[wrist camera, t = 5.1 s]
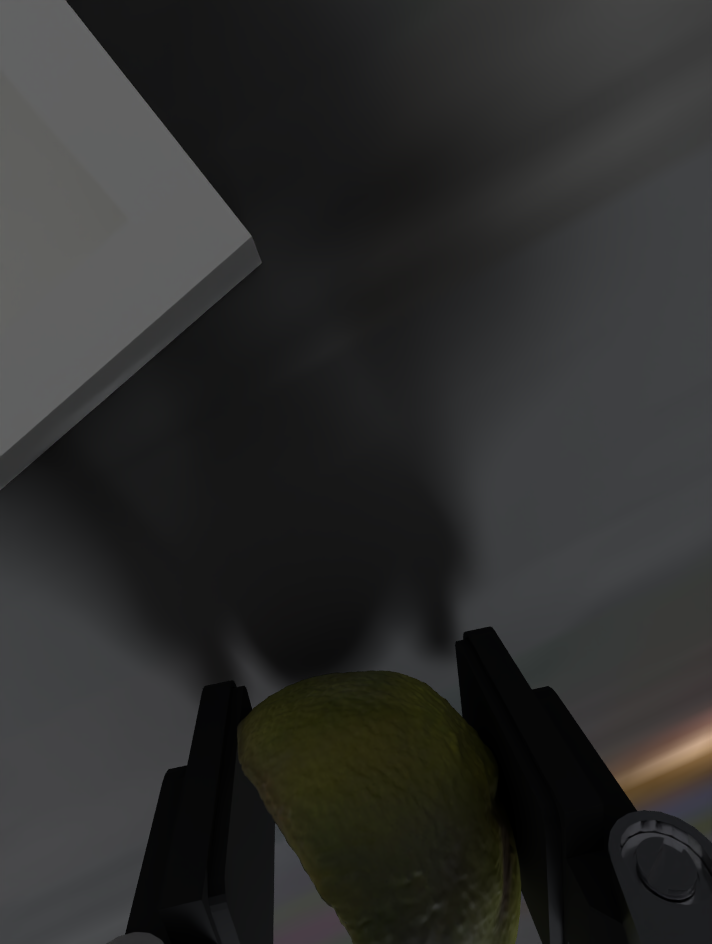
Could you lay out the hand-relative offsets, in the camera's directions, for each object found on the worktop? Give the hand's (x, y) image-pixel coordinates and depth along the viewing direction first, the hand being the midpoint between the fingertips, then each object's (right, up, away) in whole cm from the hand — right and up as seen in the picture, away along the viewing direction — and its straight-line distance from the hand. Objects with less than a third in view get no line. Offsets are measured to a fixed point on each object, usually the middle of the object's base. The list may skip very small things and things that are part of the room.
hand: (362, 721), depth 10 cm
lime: (0, 0, +1) cm, 1 cm away
